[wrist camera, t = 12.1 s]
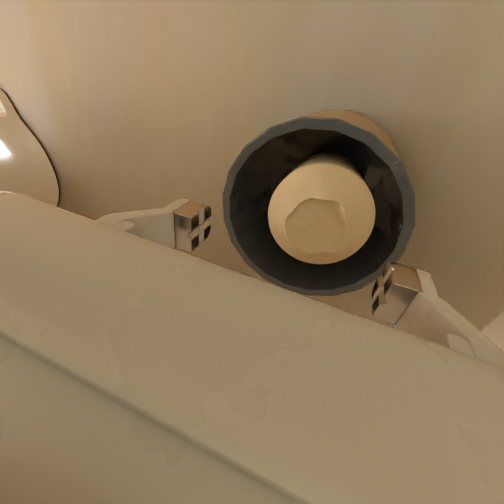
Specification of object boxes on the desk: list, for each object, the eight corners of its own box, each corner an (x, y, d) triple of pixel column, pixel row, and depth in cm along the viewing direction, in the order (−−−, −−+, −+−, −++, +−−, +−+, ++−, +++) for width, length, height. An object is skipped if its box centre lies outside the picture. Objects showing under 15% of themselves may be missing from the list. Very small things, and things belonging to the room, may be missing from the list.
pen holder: (253, 206, 25) (208, 249, 18) (295, 87, 19) (251, 81, 12) (351, 254, 24) (343, 321, 17) (432, 143, 18) (473, 175, 11)
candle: (329, 134, 19) (325, 139, 10) (375, 188, 20) (407, 234, 11) (277, 185, 22) (240, 221, 13) (319, 231, 22) (310, 294, 14)
